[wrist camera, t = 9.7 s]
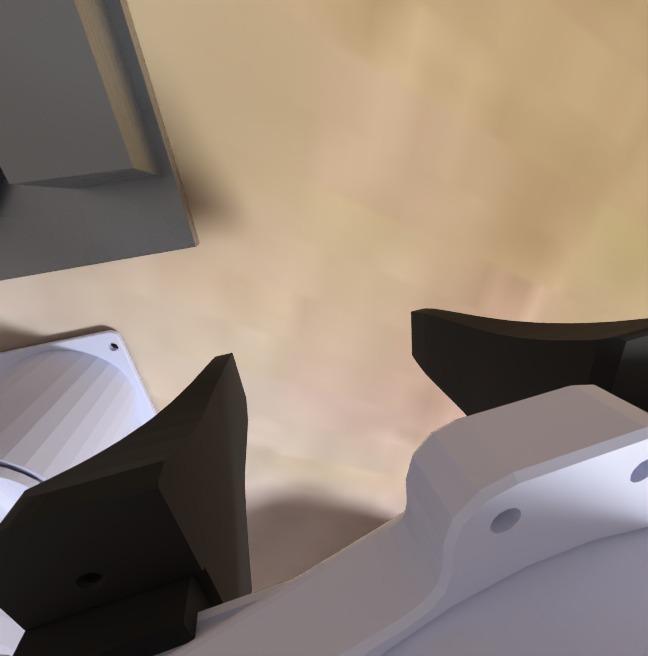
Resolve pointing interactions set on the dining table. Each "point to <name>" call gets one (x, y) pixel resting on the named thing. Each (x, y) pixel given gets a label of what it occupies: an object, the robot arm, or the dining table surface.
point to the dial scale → (81, 142)
